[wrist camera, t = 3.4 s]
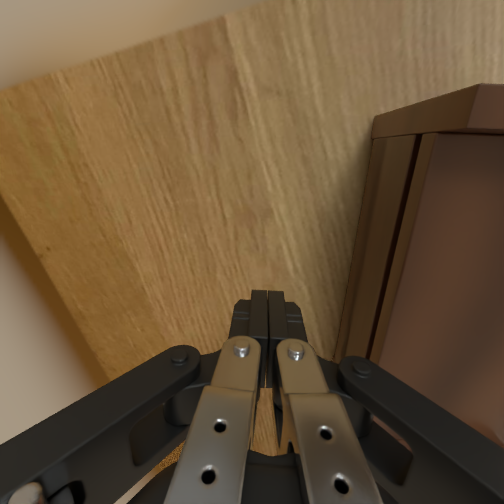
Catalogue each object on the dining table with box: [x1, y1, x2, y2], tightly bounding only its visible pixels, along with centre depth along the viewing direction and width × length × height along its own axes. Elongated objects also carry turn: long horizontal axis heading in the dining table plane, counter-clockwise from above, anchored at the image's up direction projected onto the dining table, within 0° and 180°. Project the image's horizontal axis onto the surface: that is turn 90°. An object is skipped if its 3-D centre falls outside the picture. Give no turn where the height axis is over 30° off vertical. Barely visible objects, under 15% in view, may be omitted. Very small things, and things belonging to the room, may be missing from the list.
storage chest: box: [332, 83, 504, 481], centre depth 15 cm, size 8×18×8 cm, turn 178°
